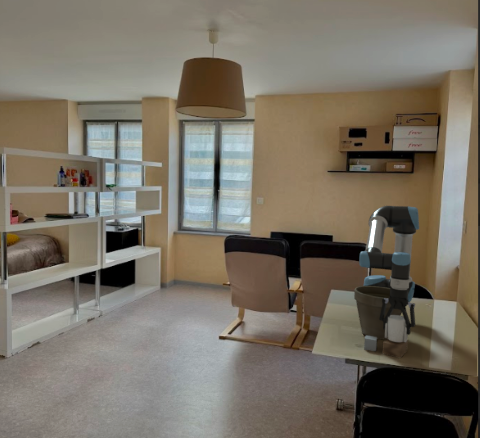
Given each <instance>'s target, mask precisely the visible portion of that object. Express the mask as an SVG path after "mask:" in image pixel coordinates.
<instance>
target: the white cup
mask: <svg viewBox="0 0 480 438" xmlns="http://www.w3.org/2000/svg"><path fill="white" fill-rule="evenodd" d="M405 327H406V323H405V320H404V317H403V315H401V316H399V315H390V317H388V339H389V340H390V341H393V342H404V331H405Z"/></svg>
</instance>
